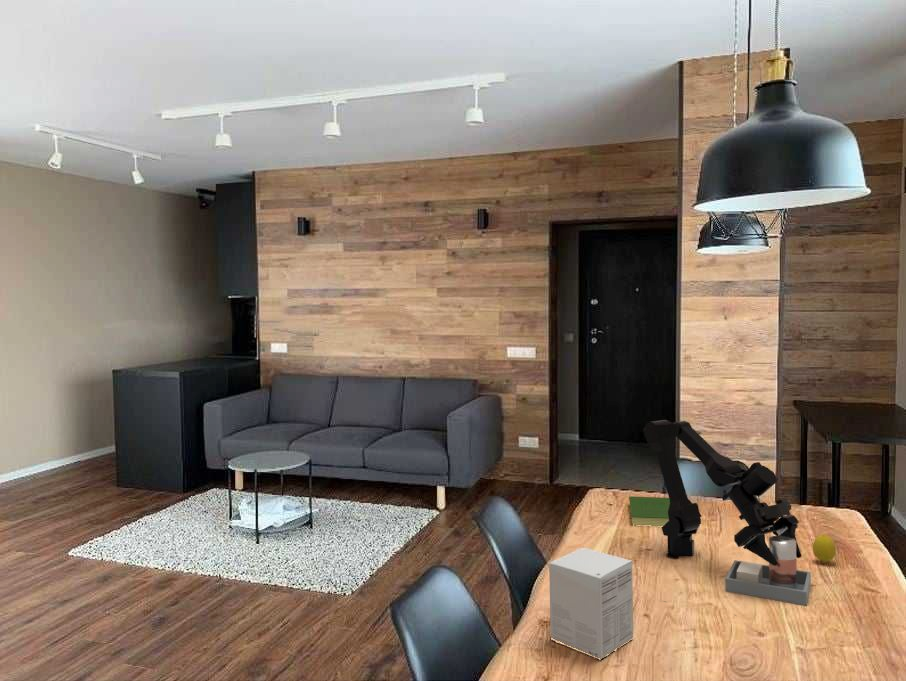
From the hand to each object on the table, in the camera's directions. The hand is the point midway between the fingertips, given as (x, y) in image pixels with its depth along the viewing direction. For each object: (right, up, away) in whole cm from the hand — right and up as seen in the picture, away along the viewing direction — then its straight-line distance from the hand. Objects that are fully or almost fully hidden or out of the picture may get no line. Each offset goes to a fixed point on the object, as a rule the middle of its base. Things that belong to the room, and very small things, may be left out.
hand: (788, 561), depth 170 cm
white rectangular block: (-6, -8, +7) cm, 13 cm away
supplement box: (-52, -11, -19) cm, 56 cm away
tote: (-3, -9, +4) cm, 10 cm away
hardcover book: (-12, -7, +68) cm, 69 cm away
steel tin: (-1, -8, +2) cm, 8 cm away
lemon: (+20, -8, +22) cm, 31 cm away
